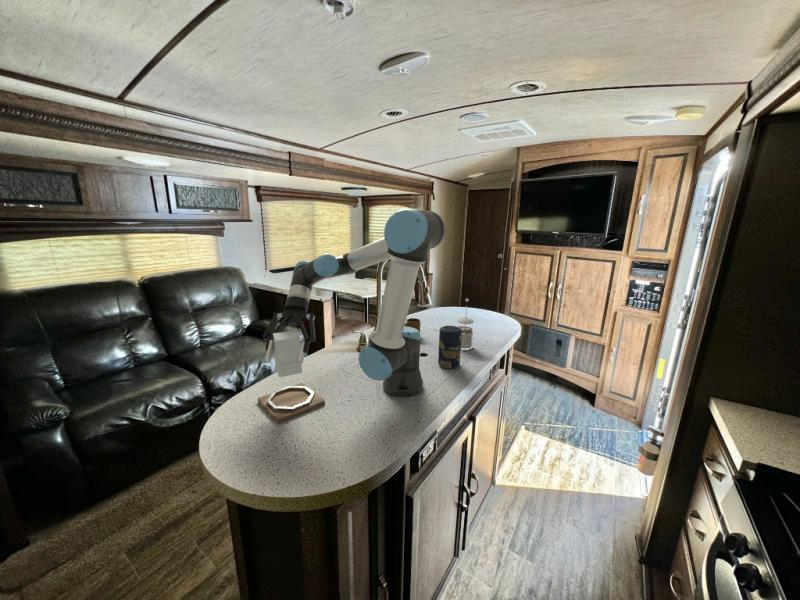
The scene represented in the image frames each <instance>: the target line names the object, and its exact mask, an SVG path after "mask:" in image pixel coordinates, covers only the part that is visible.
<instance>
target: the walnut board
mask: <svg viewBox="0 0 800 600" xmlns="http://www.w3.org/2000/svg"><path fill="white" fill-rule="evenodd" d="M293 386H306V387H307V388H309V387H308V386H307V385H305V384H304V383H303V382H300V383H298V384H295V385H293ZM309 389H310V390H311V391H313V390H312V389H311V388H309ZM313 392H314V397H313V399H312V401H311V403H310V405H307V406H305V407H302V408H300V409H298V410H295V411H293V412H292V411H274V410H273V409H272V408H271V407H270V406H269V405H268V404H267V400H268V398H269V397H270V396H271V394H272V393H269V394H266V395H263V396H260V397H257V403H258V402H259V403H260V404H261V405H262V406H263V407H262V406H261V405H260V404H259V403H258V404H259V405H260V406H261V407H262V408H263V409H264V410H265V411H266V412H267V413H268V415H269V416H270V417H271V416H272V417H273V418H274V419H275V420H276V421H277V422H276V421H275V420H274V419H273V418H272V419H273V420H274V421H275V422H276V423H277V424H278V423H279V424H281V423H280V422H282V423H284V422H286V421H289V420H291V419H293V418H295V417H298V416H302V415H304V414H305V413H308V412H310V411H312V410H314V409H317V408H319V407H322V406H324V405H325V404H326V400H325V399H324V398H322V396H320V395H319V394H317V393H316V392H315V391H313ZM309 396H310V395H309V394H308V393H307V392H306V391H304V390H289V391H286V392H283V393H280V394H278V395H276V396H275V397H274V399H273V400H272V402H273V403H274V404H275V405H276V406H280V407H293V406H296V405H298V404H301V403H303V402H306V401H307V400H308V398H309ZM288 419H289V420H288ZM283 421H284V422H283Z"/></svg>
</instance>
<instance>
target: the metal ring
mask: <svg viewBox="0 0 800 600" xmlns="http://www.w3.org/2000/svg"><path fill="white" fill-rule="evenodd" d="M306 386H307V385H305V386H294V385H289V386H286V387H283V388H280V389H278V390H274V391H273V392H272V393H270V394H271V396H270V397H269V398H268V400H267V404H268V405H269V406H270V407H271V408H272V409H273V410H274V411H292V412H293V411H295V410H298V409H300V408H302V407H305V406H307V405H310V403H311V401H312V399H313V397H314V392H315V391H314V390H312V389H311V388H310V387H308V386H307V387H308V388H307V387H306ZM310 389H311V390H312V391H311V390H310ZM289 390H304V391H306V392H307V393H308V394H309V395H310V396H309V398H308V400H307V401H306V402H303V403H301V404H298V405H296V406H293V407H280V406H276V405H275V404H274V403H273V402H272V400H273V399H274V397H275V396H276V395H278V394H280V393H283V392H286V391H289Z"/></svg>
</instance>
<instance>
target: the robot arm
mask: <svg viewBox="0 0 800 600" xmlns="http://www.w3.org/2000/svg"><path fill="white" fill-rule="evenodd" d="M445 235H446V224H445V222H444V219H443V218H442V216H441V215H440V214H438V213H436V212H435V211H432V210H424V209H417V208H403V209H399V210H397V211H395V212H393V214H391V215H390V217H389V218H388V219H387V220H386V223H385V226H384V231H383V237H382V238H379V239H377V240H375V241H373V242H370V243H368V244H365V245H363V246H361V247H359V248H356V249H353V250H351V251H349V252H346V253H344V254H341V255H333V254H330V253H324V254H322V255H319V256H317V257H316V258H315V259H313V260H311V261H308V260H301V261H300V260H299V261H298V262H297V263H296V264H295V266H294V267H295V268H294V269H293V271H292V273H293V274H292V277H291V281H290V285H289V286H290V287H289V290H288V293H287V296H286V297H287V298H286V301H285V305H284V310H283V311H282V312H280V313H279V312H277V311H274V312H273V314H272V318H271V320H270V322H269V323H268V326H267V327H266V329H265V331H264V332H263V334H262V336H261V337H262V339H264V341H265V342H266V344H265V351H266V355H265V359H264V360H265V361H266V362H268V363H271V362H272V358H273V354H274V341H273V333H280V332H284V330H285V329H286V328H288V327H289V326H296V327H297V326H299V328H300V332H301V335H302V336H303V339H304V340H302V341H301V343H300V345H301V349H300V353H299V358H298V361H299V362H300V363H302V364H303V363H304V358H305V353H306V354H307V353H308V352H309V347H310V344H311V343H316V342H317V339H316V338H317V337H316V327H315V320H316V317H315V314H314V313H313V312H312V313H308V309H309V305H310V300H311V299H310V298H311V294H312V290H313V286H314V285H315V284H318V283H319V282H321V281H323V280H325V279H326V280H327V279H329V278H336V277H340V276H346V275H352V274H355V273H357V272H358V271H360V270H363V269H366V268H368V267H371V266H374V265H376V264H379V263H382V262H384V261H387V260H390V262H389V267H388V271H387V278H386V281H385V286H384V291H383V295H382V300H381V304H380V309H379V314H378V319H377V323H376V328H375V330H373V331H372V332H371V331H370V334H369V336H368V337H369V338H368V342H367V346H365V347H363V348H362V349H361V350H360V351H359V355H358V364H359V366H360V368H361V370H362V372H363V373H364V375H366V376H367V378H369V379H371V380H373V381H377V382H380V381H382V389H383V390H384V391H385V392H386V393H387V394H389V395H391V396H394V397H395V396H396V397H401V398H402V397H404V398H405V397H412V396H416V395H418V394H420V393H421V392H422V391H423V390H424V389H423V388H424V379H423V378H422V373H421V369H420V357H421V355H420V354H421V340H422V339H421V331H420V332H419V331H418V330H417V329H415V328H412V327H406V326H405V323H406V322H407V318H408V314H409V310H410V304H411V301H412V298H413V294H414V293H413V292H414V290H415V285H416V281H417V278H418V273H419V270H420V266H421V265H424V264H425V263H426V262H427V259H428V255H429V251H430V250H432V249H434V248H437V247H438V246H439V245H440V244H441V243H442V242H443V240H444V238H445ZM281 319H282V320H281ZM306 319H307V320H308V327H309V334H308V333H307V331H306V328H305V324H304V322H305V320H306ZM280 320H281V321H280ZM279 321H280V323H279ZM278 323H279V324H278ZM309 335H310V337H309Z"/></svg>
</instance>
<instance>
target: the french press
mask: <svg viewBox="0 0 800 600" xmlns="http://www.w3.org/2000/svg"><path fill="white" fill-rule="evenodd" d="M465 302H470V299H469V298H465ZM465 307H466V310H465V314H467V312H468V311H467V310H468V306H465ZM474 322H475V321H474V319H472V318H470V317H467V316H465V317H460V318H458V319H457V323H459V325H458V326H457V327H459V328H460V329H461V330H462V339H461V348H470V347H471V346H473V342H472V341H473V335H474V332H473V328H472V327H470V326H466V325H471V324H474ZM460 324H463V325H464V326H463V325H462V326H461V325H460Z"/></svg>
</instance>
